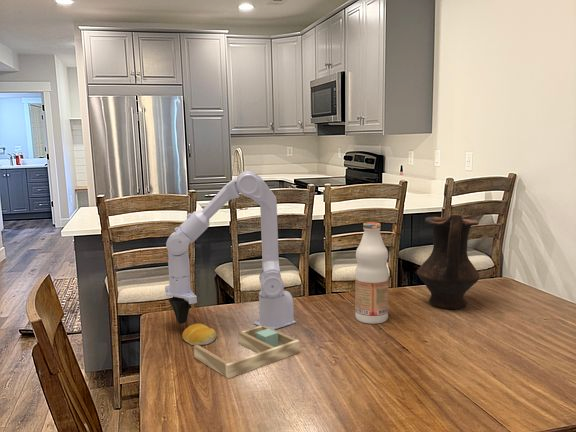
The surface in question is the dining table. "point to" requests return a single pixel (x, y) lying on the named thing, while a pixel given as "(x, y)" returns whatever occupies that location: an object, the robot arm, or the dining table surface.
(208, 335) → the bread roll
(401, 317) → the dining table surface
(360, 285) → the fruit juice
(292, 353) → the organiser frame
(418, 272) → the jug
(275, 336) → the teal block
